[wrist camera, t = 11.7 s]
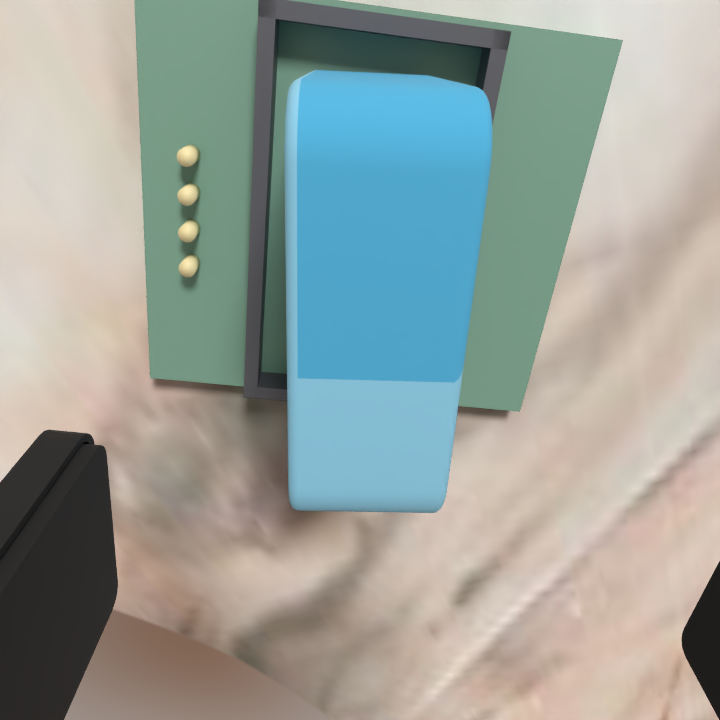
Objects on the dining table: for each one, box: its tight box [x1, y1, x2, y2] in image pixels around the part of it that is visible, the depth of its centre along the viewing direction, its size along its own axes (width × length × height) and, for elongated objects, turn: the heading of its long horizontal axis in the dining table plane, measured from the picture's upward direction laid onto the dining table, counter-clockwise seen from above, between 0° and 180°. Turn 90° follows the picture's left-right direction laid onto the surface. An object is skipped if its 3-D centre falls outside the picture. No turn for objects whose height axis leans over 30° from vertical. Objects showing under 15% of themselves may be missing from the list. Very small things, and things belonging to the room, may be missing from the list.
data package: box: [284, 70, 492, 513], centre depth 20 cm, size 12×4×12 cm, turn 178°
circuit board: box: [135, 0, 623, 412], centre depth 26 cm, size 18×16×3 cm
